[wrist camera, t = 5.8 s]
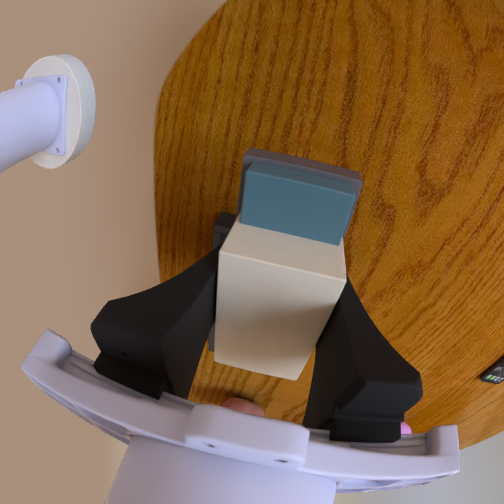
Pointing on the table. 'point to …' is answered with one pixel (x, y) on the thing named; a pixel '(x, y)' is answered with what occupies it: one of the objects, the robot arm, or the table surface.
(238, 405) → the apple
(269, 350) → the toy truck
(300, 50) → the table surface
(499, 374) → the smartphone
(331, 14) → the table surface
